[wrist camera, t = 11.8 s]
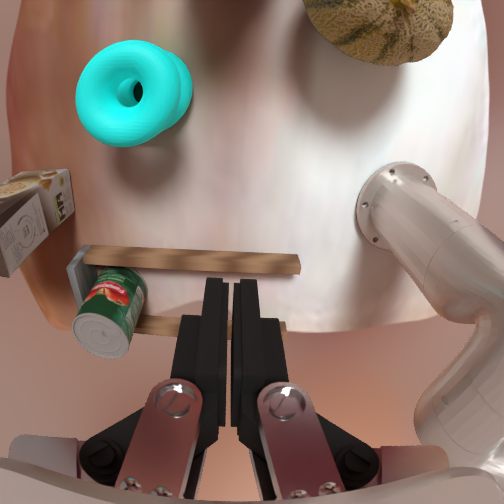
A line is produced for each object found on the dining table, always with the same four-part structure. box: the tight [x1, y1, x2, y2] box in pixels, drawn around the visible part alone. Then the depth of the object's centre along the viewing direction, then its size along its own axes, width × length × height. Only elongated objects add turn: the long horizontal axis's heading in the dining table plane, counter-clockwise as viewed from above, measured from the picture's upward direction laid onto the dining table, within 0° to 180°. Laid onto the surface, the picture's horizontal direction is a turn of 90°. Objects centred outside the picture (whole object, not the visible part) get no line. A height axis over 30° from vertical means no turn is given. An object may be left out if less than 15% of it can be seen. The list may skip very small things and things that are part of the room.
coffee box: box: [0, 169, 75, 278], centre depth 28 cm, size 9×6×16 cm
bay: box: [66, 245, 301, 341], centre depth 41 cm, size 30×13×6 cm, turn 86°
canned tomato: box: [72, 266, 147, 359], centre depth 38 cm, size 8×8×11 cm
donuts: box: [76, 40, 193, 147], centre depth 26 cm, size 10×10×10 cm
